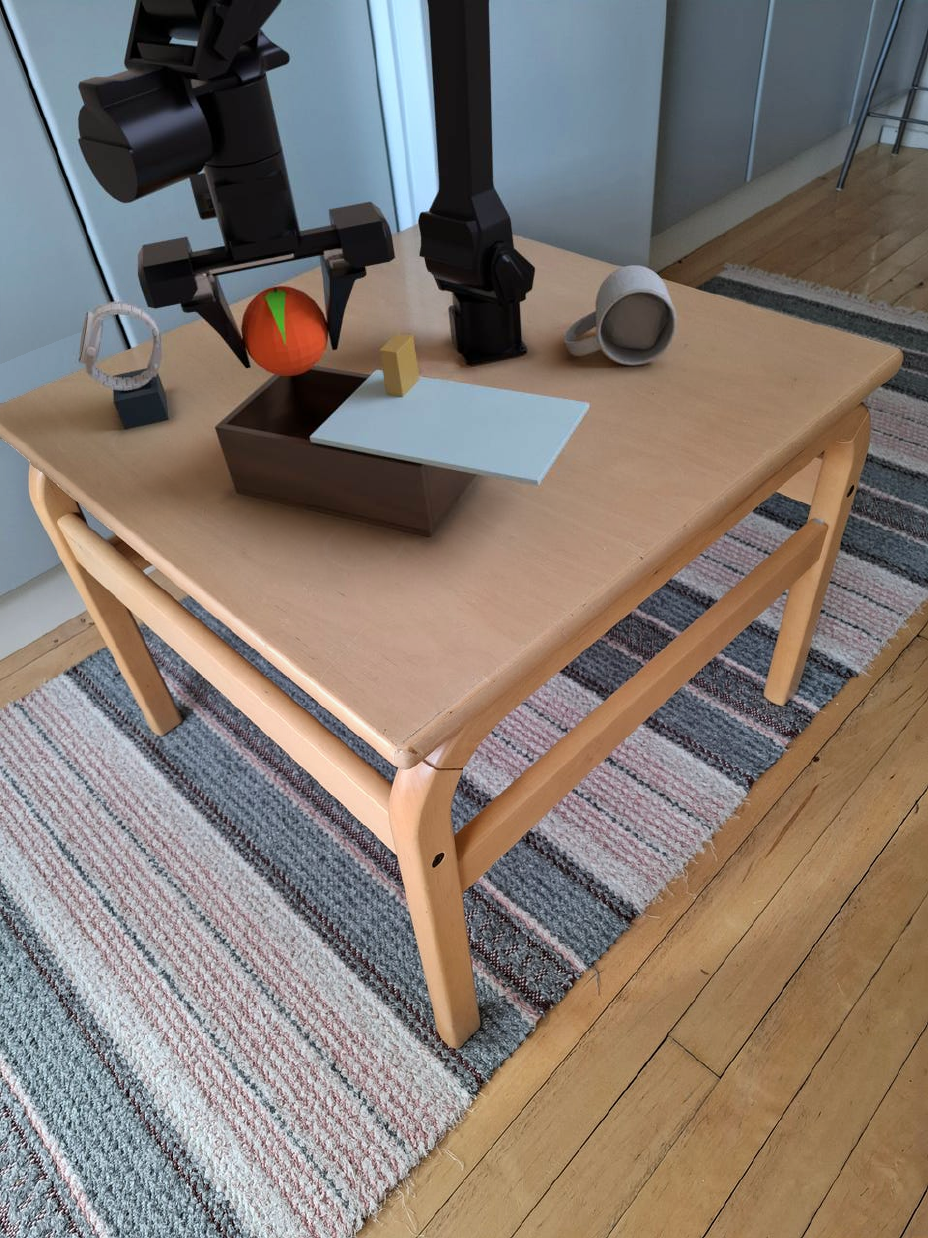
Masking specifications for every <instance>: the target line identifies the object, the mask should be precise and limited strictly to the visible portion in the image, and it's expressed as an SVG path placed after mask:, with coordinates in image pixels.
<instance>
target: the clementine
mask: <svg viewBox="0 0 928 1238" xmlns="http://www.w3.org/2000/svg"><path fill="white" fill-rule="evenodd" d="M240 332H241V336H242V339H243V342H244V344H245V347H246V350H247V354H248V356H249V357H250V358H251V359H252V361H253V362H254V363H255V364H257V366H259V367H260V368H262V369H263V370H265V371H266V372H268V373H271V374H273V375H274V374H277V375H281V376H294V375H299V374H302V373H304V372H306V371H308V370H310V369H311V368H312V367H313V366H316V365H317V364H318V363H320V360H321V359H322V356H323V355H324V353H325V352H326V350H327V346H328V345H327V344H328V342H329V341H328V340H329V334H328V327H327V322H326V315H325V314H324V312H323V310H322V308H321V307H320V306H319V304H318V303H317V301H316V300H315V299H314V298H312V297H311V296H309V294H308V293H306V292H304V291H302V290H300V289H297V288H295V287H291V286H285V285H278V286H272V287H269V288H266V289H264V290H262V291H261V292H259V293H258V294H257V295H256V296H254V297H253V298H252V299H251V300H250V301H249V303H248V305H247V306H246V308H245V310H244V312H243V316H242V320H241V327H240Z"/></svg>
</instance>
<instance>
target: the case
mask: <svg viewBox="0 0 928 1238" xmlns="http://www.w3.org/2000/svg"><path fill="white" fill-rule="evenodd" d="M371 375H372V374H370V373H363V372H356V371H349V370H345V369H338V368H332V367H325V366H319V365H314V366H313V367H312V368H311V369H310V370H308V371H306V372H304V373H302V374H299V375H294V376H281V375H277V374H273V375H271V376H270V377H269V378H268V379H267V380H266V381H265V382H264V383H263V384H261V385H259V387H258V388H257V389H255V391H253V392H252V393H251V394H250V395H249V396H248V397H246V399H244V400H243V401H242V402H241V403H240V404H239V405H238V406H236V407H235V408H234V409H233V410H232V411H231V412H229V413H228V414H227V415H226V416H225V417H224V418H223V419H222V420H221V421H219V423H217V424H215V426H214V429H215V433H216V435H217V438H218V442H219V445H220V449H221V451H222V454H223V456H224V457H223V458H224V460H225V463H226V466H227V469H228V472H229V476H230V478H231V481H232V484H233V487H234V491H235V493H236V494H239V495H244V496H247V497H251V498H252V497H253V498H257V499H261V500H266V501H269V502H275V503H279V504H284V505H289V506H292V507H296V508H301V509H305V510H310V511H314V512H318V513H321V514H322V513H323V514H326V515H331V516H335V517H340V518H345V519H350V520H353V521H358V522H361V523H362V522H363V523H368V524H372V525H375V526H379V527H385V528H389V529H392V530H398V531H402V532H406V533H411V534H415V535H420V536H424V537H428V538H431V537H433V535H434V533H435V532H436V531H437V529H438V528H439V527H440V526H441V524H442V523H443V522H444V520H445V519H446V517H447V516H448V515H449V514H450V512H451V511H452V509H453V508H454V506H455V505H456V504H457V503H458V501H459V500H460V499H461V497H462V496H463V494H464V493H465V491H466V490H467V489H468V488H469V486H470V485H471V484H472V482H473V481H474V480H475V478H476V476H478V474H473V473H468V472H462V471H457V470H452V469H447V468H442V467H437V466H432V465H427V464H421V463H416V462H411V461H406V460H401V459H396V458H391V457H386V456H380V455H375V454H370V453H365V452H360V451H355V450H350V449H345V448H339V447H334V446H329V445H324V444H319V443H314V442H311V440H310V436H311V435H312V434H313V433H314V432H315V431H316V430H317V429H318V428H319V427H320V426H321V425H322V424H323V423H324V422H325V421H326V420H327V419H328V418H329V417H330V416H331V415H332V414H333V413H334V412H335V411H336V410H337V409H338V408H339V407H340V406H341V405H342V404H343V403H344V402H345V401H346V400H347V399H348V398H349V397H350V396H351V395H352V394H353V393H354V392H355V391H356V390H357V389H358V388H359V387H360V386H361V385H362V384H363V383H364V382H365V381H366V380H367V379H368V378H369V377H370V376H371Z"/></svg>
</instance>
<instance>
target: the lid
mask: <svg viewBox="0 0 928 1238" xmlns="http://www.w3.org/2000/svg"><path fill="white" fill-rule="evenodd" d="M379 357H380V364H381V369H382V370H381V369H376V370H374V371H373V372H372V373H371V374H370V375H371V376H370V377H369V378H368V379H367V380H366V381H365V382H364V383H363V384H362V385H361V386H360V387H359V388H358V389H357V390H356V391H355V392H354V393H353V394H352V395H351V396H350V397H349V398H348V399H347V400H346V401H345V402H344V403H343V404H342V405H341V406H340V407H339V408H338V409H337V410H336V411H335V412H334V413H333V414H332V415H331V416H330V417H329V418H328V419H327V420H326V421H325V422H324V423H323V424H322V425H321V426H320V427H319V428H318V429H317V430H316V431H315V432H314V433H313V434H312V435H311V436H310V440H311V442H314V443H319V444H324V445H329V446H334V447H339V448H345V449H350V450H355V451H360V452H365V453H370V454H375V455H380V456H386V457H391V458H396V459H401V460H406V461H411V462H416V463H421V464H427V465H432V466H437V467H442V468H447V469H452V470H457V471H462V472H468V473H473V474H477V476H478V475H479V476H483V477H489V478H494V479H499V480H505V481H509V482H515V483H520V484H524V485H530V486H533V487H534V486H535V487H539V486H540V484H541V482H542V481H543V480H544V478H545V476H546V475H547V474H548V471H549V470H550V469H551V468H552V466H553V465H554V463H555V461H556V460H557V458H558V457H559V455H560V454H561V452H562V450H563V449H564V447H565V446H566V445H567V443H568V442H569V440H570V438H571V436H572V435H573V434H574V432H575V430H576V429H577V427H578V426H579V424H580V423H581V421H582V420H583V418H584V417H585V415H586V414H587V412H588V411H589V409H590V403H589V402H587V401H580V400H574V399H567V398H560V397H556V396H555V397H554V396H548V395H542V394H535V393H530V392H524V391H523V392H522V391H516V390H509V389H503V388H496V387H491V386H485V385H478V384H471V383H466V382H458V381H451V380H446V379H440V378H439V379H438V378H433V377H425V376H421V375H419V370H418V369H419V367H418V360H417V353H416V346H415V339H414V335H412V334H404V333H395V334H394V335H393V336H392V337H391V338H390V339H388V340H387V342H386V343H385V344H384V345H383V346H382V347H381V348H380V349H379Z"/></svg>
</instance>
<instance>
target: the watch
mask: <svg viewBox="0 0 928 1238" xmlns="http://www.w3.org/2000/svg"><path fill="white" fill-rule="evenodd" d="M116 315H121V316H129V317H132V318H134V319H138V320H139V321H141V322H143V324H146V326H147V327H148V328H149V329H150V330H151V333H152V349H151V354H150V356H149V357H150V358H149V360H148V363H147V364H146V366H147V367H146V368H141V369H137V370H133V371H129V372H123V373H118V374H114V375H111V374H108V373H106V372H104V371H103V370H101V369H99V368H98V367H96V365H95V364H96V363H97V361H98V358H99V353H100V348H101V342H102V336H103V330H104V329H103V328H104V318H106V317H108V316H116ZM79 342H80V343H79V349H78V350H79V351H78V363H79V364H81V365H84V369H85V372H86V373H87V375H88V376H89V377H91V379H93V380H94V381H95V382H97V383H98V384H99V385H101V386H103V387H105V388H108V389H111V390H112V392H113V393H112V394H113V396H112V397H113V399H112V400H113V404H114V406H115V409H116V411H117V414H118V417H119V419H120V421H121V423H122V424H121V425H122V427H123V428H124V430H129V429H134V428H138V427H141V426H146V425H150V424H155V423H159V422H164V421H167V420H169V412H168V403H167V394H166V391H165V388H164V385H163V382H162V379H161V377H160V374H159V369H160V367H161V362H162V354H163V341H162V333H161V332H160V331H159V327H158V324H157V323H156V321H155V320H154V318H153V317H152V316H151V314H149V313H147V311H145V309H142V308H141V307H139V306H137V305H135V304H132V303H128V302H125V301H110V302H105V303H102V304H99V305H97V306H96V307H95V308H94V309H93V311H90V310H88V311H87V312H86V314H85V317H84V321H83V325H82V331H81V336H80V341H79Z"/></svg>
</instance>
